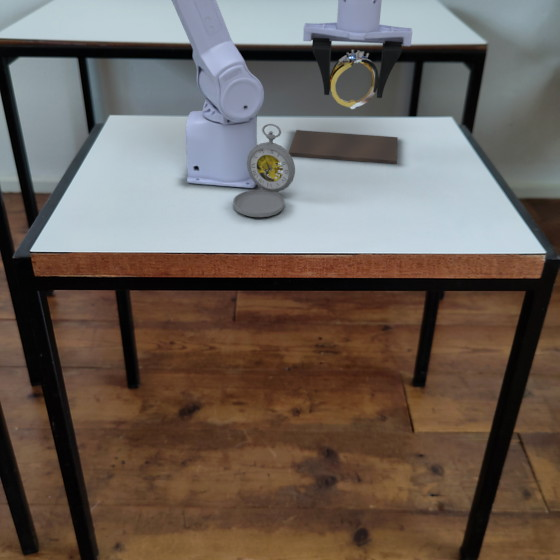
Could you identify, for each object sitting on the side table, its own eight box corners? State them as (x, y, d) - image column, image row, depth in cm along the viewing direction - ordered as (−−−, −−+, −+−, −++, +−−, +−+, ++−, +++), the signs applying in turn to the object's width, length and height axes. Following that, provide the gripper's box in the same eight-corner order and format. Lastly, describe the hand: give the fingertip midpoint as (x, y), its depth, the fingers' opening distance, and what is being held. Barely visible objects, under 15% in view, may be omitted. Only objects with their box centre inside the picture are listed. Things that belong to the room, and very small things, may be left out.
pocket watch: (236, 221, 86) (234, 146, 81) (229, 191, 93) (227, 120, 88) (300, 217, 87) (303, 143, 82) (289, 188, 94) (291, 117, 89)
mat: (288, 155, 103) (288, 152, 103) (296, 133, 111) (296, 129, 110) (396, 164, 101) (397, 160, 101) (397, 140, 109) (397, 137, 109)
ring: (373, 103, 101) (378, 47, 97) (378, 111, 99) (383, 54, 94) (326, 104, 101) (329, 48, 96) (330, 112, 98) (333, 55, 93)
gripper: (302, -4, 88) (299, 100, 96) (417, 1, 87) (405, 106, 95) (307, -15, 94) (303, 84, 102) (415, -10, 93) (403, 89, 100)
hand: (352, 94), depth 98 cm, fingers closed on ring, 7 cm apart
